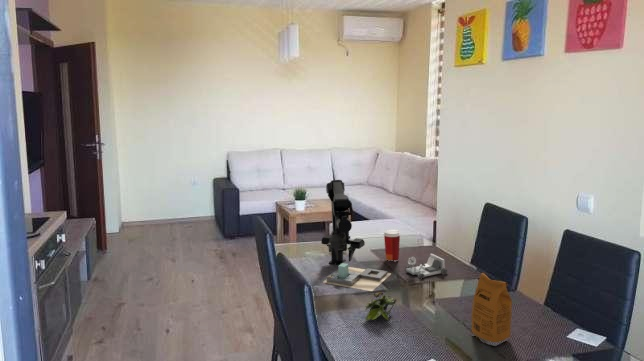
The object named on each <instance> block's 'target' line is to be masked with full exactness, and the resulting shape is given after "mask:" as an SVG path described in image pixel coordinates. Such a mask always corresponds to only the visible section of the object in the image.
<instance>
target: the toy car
mask: <svg viewBox="0 0 644 361" xmlns="http://www.w3.org/2000/svg"><path fill="white" fill-rule="evenodd" d="M407 263H408V265H406V266H405V268H404V270H405V272H408V273H409V274H411V275H413V276H414V275H416V276H417V278H418V279H420V278H424V279H425V277H430V276H434V275H439V274H441V275H442V276H443V275H447V274H448V269H447V268H446V265H445V264H446V261H445V259H444V258H442V257H440V256H437V255H436V254H434V253H430V254H429V257H428V258H427V261H426V263H424V262H421V263H420V264H419V266H418V265H417V266H415V265H416V264H417V260H416V257H415V256H410V257H409V258H408V259H407Z"/></svg>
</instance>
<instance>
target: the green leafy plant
mask: <svg viewBox="0 0 644 361" xmlns="http://www.w3.org/2000/svg"><path fill="white" fill-rule="evenodd" d="M373 296H374V298H372V299H370V300H369V302H367V304H366V305H364V308H365V312H366V311H367V310H369V311H368V313H367V315H366V317H365V319H366V322H367V321H370V320H372V321H374V320H376V319H377V318H379V317H380V316H381V315H382V316H383V318H384V319H385V320H386V322H388V320H389V316H390V314H391V311H392V309H393V307H394V306H395V305H396V302H397V298H394V297H392V298H391V296H390V295H387V294H384V292H376V293H373ZM389 306H391V307H390V309H389V310H388V311H387V309H388V307H389Z"/></svg>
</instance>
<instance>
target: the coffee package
mask: <svg viewBox="0 0 644 361" xmlns="http://www.w3.org/2000/svg"><path fill="white" fill-rule="evenodd" d="M508 286H509V284H508V282H505V281H500V280H495V279H491V278H489V277H488V276H487V275H486V274H485V273H484V272H482V273H480V276H479V279H478V282H477V286H476V288H475V292H474V295H473V302H472V309H471V333H472V332H473V334H475V335H477V336H478V337H479V338H482V339H485V340H487V341H491V342H499V341H503V340H505V339H506V338H508V337H510V338H511V332H512V331H511V324H512V308H513V301H512V298H511V296H510V293H509V291H508V288H507V287H508Z"/></svg>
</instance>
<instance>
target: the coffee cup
mask: <svg viewBox="0 0 644 361" xmlns="http://www.w3.org/2000/svg"><path fill="white" fill-rule="evenodd" d="M382 235H383V236H384V239H383V240H384V250H385V260H386V259H388V260H393V261H394V260H398V259H399V258H400V241H401V240H400V238H401V237H400V236H401V232H400V231H399V230H398V229H387V230H385V231H384V232H383V234H382ZM399 260H400V259H399ZM399 260H398V261H399Z"/></svg>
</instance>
